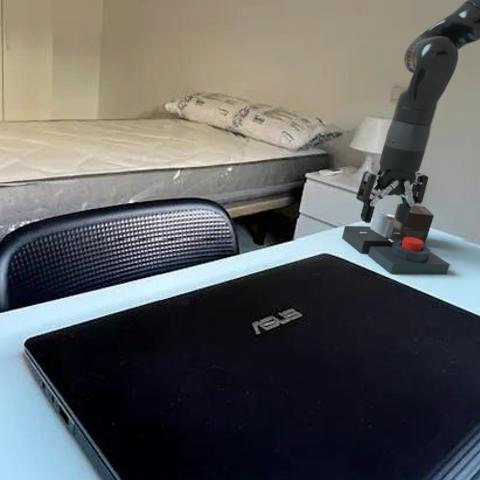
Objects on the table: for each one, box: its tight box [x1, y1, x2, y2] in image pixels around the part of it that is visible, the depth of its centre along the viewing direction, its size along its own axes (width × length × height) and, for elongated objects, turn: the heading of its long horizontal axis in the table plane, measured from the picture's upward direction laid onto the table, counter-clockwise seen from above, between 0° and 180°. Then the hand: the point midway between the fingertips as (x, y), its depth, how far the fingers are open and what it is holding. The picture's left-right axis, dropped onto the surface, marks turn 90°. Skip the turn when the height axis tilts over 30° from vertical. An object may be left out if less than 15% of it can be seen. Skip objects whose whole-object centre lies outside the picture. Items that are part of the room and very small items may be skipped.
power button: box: [402, 237, 424, 251], centre depth 97 cm, size 4×4×2 cm
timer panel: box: [341, 224, 409, 255], centre depth 106 cm, size 12×9×3 cm
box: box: [393, 203, 435, 246], centre depth 110 cm, size 6×6×7 cm
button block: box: [367, 240, 451, 275], centre depth 98 cm, size 12×8×4 cm, turn 99°
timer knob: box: [370, 210, 396, 238], centre depth 105 cm, size 5×1×4 cm, turn 14°
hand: (383, 221), depth 104 cm, fingers open, 8 cm apart
